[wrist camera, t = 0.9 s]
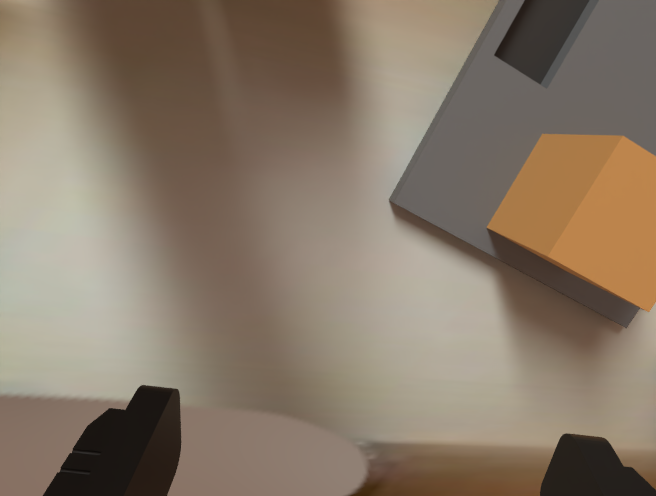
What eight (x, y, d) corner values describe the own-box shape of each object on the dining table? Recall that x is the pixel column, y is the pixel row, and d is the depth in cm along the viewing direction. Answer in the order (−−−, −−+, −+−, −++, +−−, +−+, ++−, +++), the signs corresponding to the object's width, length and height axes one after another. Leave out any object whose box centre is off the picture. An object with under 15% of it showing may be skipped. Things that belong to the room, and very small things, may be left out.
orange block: (568, 272, 36) (648, 312, 28) (486, 227, 34) (547, 256, 27) (623, 183, 35) (724, 199, 27) (542, 133, 33) (623, 135, 25)
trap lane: (613, 320, 39) (661, 348, 34) (388, 199, 35) (406, 211, 30) (857, -49, 34) (953, -78, 29) (629, -235, 30) (697, -305, 25)
